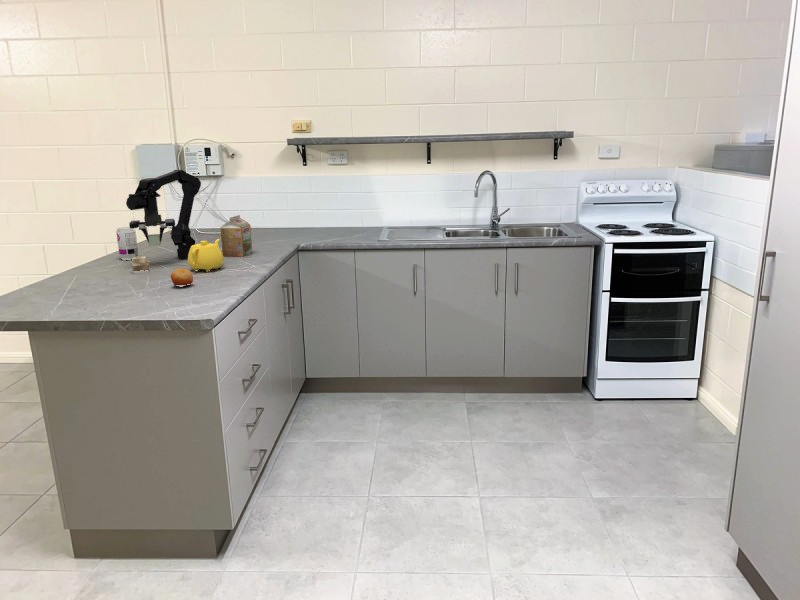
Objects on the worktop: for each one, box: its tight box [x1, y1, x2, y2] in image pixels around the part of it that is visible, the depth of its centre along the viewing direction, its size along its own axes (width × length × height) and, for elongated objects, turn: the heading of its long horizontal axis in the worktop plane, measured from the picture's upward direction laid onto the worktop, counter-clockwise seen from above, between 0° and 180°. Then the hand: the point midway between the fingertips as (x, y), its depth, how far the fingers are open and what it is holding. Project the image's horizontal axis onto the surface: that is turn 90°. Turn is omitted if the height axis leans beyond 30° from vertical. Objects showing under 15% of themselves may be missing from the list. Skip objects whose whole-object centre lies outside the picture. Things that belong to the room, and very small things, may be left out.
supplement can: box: [115, 226, 140, 258], centre depth 291 cm, size 8×8×15 cm
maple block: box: [131, 255, 148, 266], centre depth 263 cm, size 5×5×3 cm
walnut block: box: [132, 262, 150, 272], centre depth 264 cm, size 6×6×4 cm
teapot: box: [187, 238, 224, 271], centre depth 266 cm, size 14×20×13 cm
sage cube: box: [148, 233, 162, 247], centre depth 275 cm, size 4×4×4 cm
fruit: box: [170, 267, 194, 286], centre depth 237 cm, size 8×8×8 cm
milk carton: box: [219, 214, 254, 258], centre depth 296 cm, size 11×11×19 cm
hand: (154, 242), depth 275 cm, fingers closed on sage cube, 4 cm apart
